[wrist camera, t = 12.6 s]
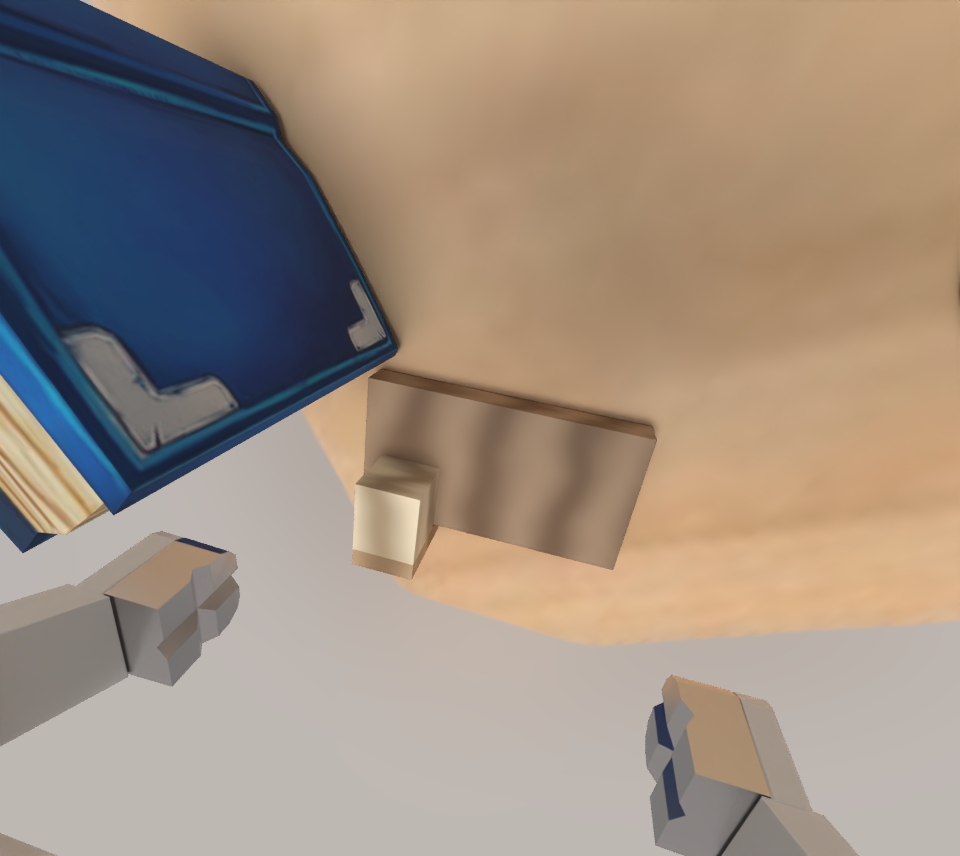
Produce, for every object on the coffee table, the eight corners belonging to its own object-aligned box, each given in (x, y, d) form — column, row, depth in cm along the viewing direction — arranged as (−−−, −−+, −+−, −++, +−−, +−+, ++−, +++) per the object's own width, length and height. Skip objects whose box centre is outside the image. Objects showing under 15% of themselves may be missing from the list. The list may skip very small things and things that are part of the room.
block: (447, 456, 41) (420, 500, 34) (438, 527, 44) (411, 580, 37) (392, 443, 41) (355, 484, 35) (386, 514, 44) (352, 563, 38)
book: (187, 116, 35) (-560, -86, 12) (258, 59, 32) (-515, -328, 10) (337, 381, 40) (19, 576, 18) (406, 350, 38) (138, 529, 16)
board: (652, 426, 36) (656, 440, 34) (611, 551, 41) (612, 570, 39) (381, 369, 39) (368, 377, 37) (373, 491, 44) (362, 506, 42)
